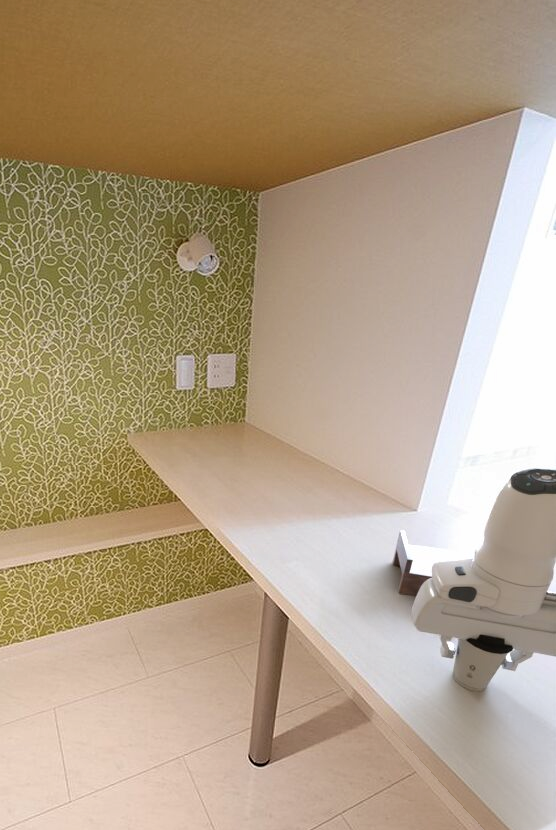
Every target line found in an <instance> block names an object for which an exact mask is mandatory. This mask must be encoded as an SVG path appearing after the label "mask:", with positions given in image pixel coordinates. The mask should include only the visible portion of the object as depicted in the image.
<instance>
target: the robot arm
mask: <svg viewBox="0 0 556 830" xmlns="http://www.w3.org/2000/svg"><path fill="white" fill-rule="evenodd" d="M477 550H478V551H477V552H476V554H475V553H474V554H475V556H474V557H472V558H467V559H460V560H452V561H441V562H436V563H434V564H433V566H432V569H431V574H432V578H430V579H428V580H426V581H425V582H424V583H423V584H422V586H421V587H420V589H419V591H418V594H417V596H415V598H414V601H413V604H412V607H411V611H410V616H411V621H412V624H413V626H414V627H415V629H416V631H418V632H422V633H427V634H432V635H437V636H439V640H440V642H441V645H440V647H439V648H440V651H439V652H440V656H441V657H442V658H447V659H452V660H454V659H455V656H456V651H457V650H456V648H455V645H454V643H453V642H451V641H452V639H453V638H455V639H464V640H466V639H468V638H473V639H477V638H478V637H479V635H480V634H481V635H487V636H492V637H498V638H503V639H505V644H506V645H511V646H512V647H513V650H512V651H511V652H509V653H508V655H507V656H506V658H505V659H504V661H503V662H502V664H501V665H500V666H501V668H502V669H503V670H508V671H512V672H515V671H516V670H517V668H518V667H519V664H521V663H524V662H525V661H527V660H529V659H531V658H532V657H533V655H534V654H539V655H545V656H550V657H555V658H556V592H555V591H549V589H550V586H551V584H552V582H553V579H554V573H555V572H554V569H555V565H556V468H551V467H527V468H523V469H519V470H516V471H514V472H513V473H511V474H510V475H509V476H508V478H507V479H506V480H505V482H504V483H503V484H502V486H501V487H500V489H499V491H498V493H497V495H496V497H495V499H494V500H493V504H492V506H491V508H490V511H489V513H488V515H487V518H486V521H485V523H484V526H483V540H482V543H481V545H480V547H479V548H478V549H477Z"/></svg>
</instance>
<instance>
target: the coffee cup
mask: <svg viewBox="0 0 556 830" xmlns="http://www.w3.org/2000/svg"><path fill="white" fill-rule="evenodd" d="M455 651H456V652H455V656H454V663H453V668H452V676H453V678H454V680H455V681H456V683H458V684H459V685H460V686H461V687H463V688H465V689H467V690H470V691H472V692H482V691H485V690H486V688H487V687H488V685H489V684H490V683H491V681H492V679H493V678H494V676H495V675H496V673H497V671H498V670H499V668H500V667H501V666H502V665H501V664H502V662H503V661H504V659H505V658H506V656H507V655H508V654H510V653H511V652H512V651H514V649H513V647H512V646H511V645H506V644H505V639H503V638H498V637H492V636H487V635H481V634H480V635H479V637H478V638H477V639H473V638H468V639H466V640H464V639H459V638H457V646H456V650H455Z"/></svg>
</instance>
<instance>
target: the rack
mask: <svg viewBox="0 0 556 830" xmlns="http://www.w3.org/2000/svg"><path fill="white" fill-rule="evenodd" d="M396 541H397V542H396V546H395V550H394V554H393V558H392V565H394V566H399V567H400V570H401V576H400V580H399V584H398V588H397V592H398V594H401V595H407V596H412V597H416V596H417V594H418V591H419V589H420V587H421V586H422V584H423V583H424V582H425V581H426V580H428V579H430V578H432V574H431V569H432V566H433V564H434V563H436V562H441V561H452V560H460V559H467V558H472V557H474V556H475V554H476V552H477V551H478V549H475V552H474V553H472V552H465V551H459V550H453V549H445V548H437V547H433V546H432V547H430V546H425V545H424V546H423V545H416V544H410V543H409V540H408V536H407V534H406V530H399V533H398V538H397V540H396Z"/></svg>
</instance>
